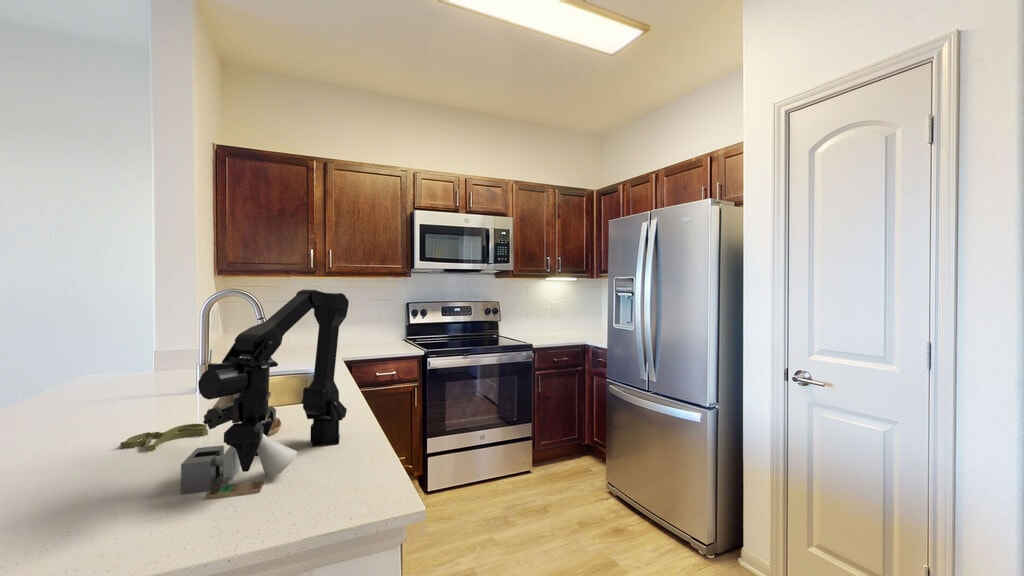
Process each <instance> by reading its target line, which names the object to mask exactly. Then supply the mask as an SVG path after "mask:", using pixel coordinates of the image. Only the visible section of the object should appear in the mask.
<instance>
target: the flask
mask: <svg viewBox="0 0 1024 576" xmlns="http://www.w3.org/2000/svg"><path fill="white" fill-rule="evenodd" d="M262 437H263V438H262V441H261V443H260V445H259V448H258V450H257V453H258V455H259V456H258V457H259V460H260V463H261V466H262V469H263V473H264V475H265V476H266V477H268V478H273V477H274V476H276V475H279V474H281V473H283V471H284V470H286V468H287V467H288V466H289V465H291V463H292V462H293V461H294V459H295V457H296V456H297V454H298V453H299V452H298V451H296V450H295V449H293V448H291V447H288V446H287V445H286V446H285V445H283V444H282V443H279V442H278V441H276V440H273V439H271V438H270V437H269V436H266V435H264V434H263V436H262Z"/></svg>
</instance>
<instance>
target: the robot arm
mask: <svg viewBox="0 0 1024 576" xmlns="http://www.w3.org/2000/svg"><path fill="white" fill-rule="evenodd" d="M349 303H350V302H349V299H348V298H347V296H346V295H345V294H344V293H342V292H341V293H340V292H323V291H319V290H317V289H301V290H299V291H297V292H296V294H295V296H294V297H292V298H291V299H290V300H289V301H288V302H287V303H285V304H284V305H283V306H282V307H280V308H279V309H278V310H277V311H276V312H275V313H274V314H273V315H271V316H269V318H268V319H267V320H265V321H263V322H261V323H258V324H255V325H253V326H250V327H249V328H247V329H245V330H244V331H241V332H240V333H238V335H237V336H236V337H235V339H234V343H233V344H232V346H231V348H230V349H229V351H228V352H227V353H226V355H225V356H224V358H223V359H222V361H221V363H217V362H216V363H215V362H214V363H213V362H212V363H208V364H207V370H205V371H204V372H203V373H201V376H200V377H199V378H200V379H199V380H198V385H197V386H198V391H199V394H200V395H201V396H202V398H204V399H205V400H215V399H218V398H223V397H228V396H234V395H237V396H236V397H234V399H233V402H231V403H228V404H225V405H222V406H220V407H219V406H218V405H217V406H215V407H213V408H209V409H207V410H206V411H207V412H206V413H205V414H204V415H203V419H204V420H203V421H202V424H205V425H207V427H208V430H212V429H216V428H217V427H218V426H220V425H223V424H225V423H229V422H231V424H232V425H231V426H229V428H228V429H226V430H225V432H223V443H224V444H225V445H227V446H228V447H230V446H232V447H233V448H235V449H236V451H237V454H238V458H239V461H240V465H241V467H240V469H241V471H242V472H243V473H247V472H249V471H250V469H251V467H252V464H253V462H254V459H255V457H259V455H258V453H257V450H258V448H259V445H260V443H261V441H262V438H263V437H262V436H263V434H264V435H266V436H267V437H269V436H268V434H269V432H270V429H271V427H272V425H273V423H274V419H275V418H277V409H276V408H275V407H274V406H272V405H269V399H270V397H271V393H272V392H271V391H270V368H274V367H278V366H279V363H278V362H277V361H276V360H274V359H273V358H272V357H273V356H274V354H275V353H276V352H277V350H278V349H279V348H280V346H281V345H282V341H283V338H284V335H285V334H286V333H287V332H289V331H290V330H291V328H293V327H294V326H295V325H296V324H297V323H298V322H299V321H300V320H301V319H302V318H303V317H304V316H306V315H307V313H309V312H310V311H311V310H313V315H314V319H315V320H316V322H317V324H318V332H317V343H316V352H315V359H314V361H315V362H314V371H313V380H312V381H311V383H310V385H309V386H308V387H307V386H305V387H303V390H302V400H301V404H302V408H303V410H304V412H305V416H306V419H308V420H312V423H311V425H310V436H309V437H310V438H309V439H310V442H311V446H312V447H320V446H328V445H337V444H340V438H341V435H340V421H343V419H344V418H346V416H347V411H348V409H347V408H346V406H345V405H344V404H343V403H342V402H341V401H340V392H339V387H338V386H337V384H336V383H335V372H336V371H335V370H336V363H337V353H338V352H337V351H338V350H337V349H338V341H339V334H340V333H339V332H340V326H341V325H342V323H343V322H344V321H345V319H346V318H347V314H348V309H349ZM267 418H271V420H267Z"/></svg>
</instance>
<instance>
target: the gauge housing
mask: <svg viewBox="0 0 1024 576" xmlns="http://www.w3.org/2000/svg"><path fill="white" fill-rule="evenodd" d="M224 454H225V445H215V446H205V447H196V448H195V450H194V451H193V452H192V453H190V454H189V455H188V457H187V458H185V460H184V461H182V463H181V465H180V495H189V494H195V493H202V492H208V493H207V495H206V500H213V499H219V498H220V499H221V498H227V497H235V496H242V495H251V494H256V493H257V494H258V493H259V494H260V493H261V491H262V489H263V488H264V485H265V479H261V480H260V479H259V480H252V481H251V480H250V481H246V482H245V481H244V482H238V483H236V482H235V483H234V482H233V483H227V484H226V485H225V487H224V488H220V486H221V485H216V479H220V478H221V477H222V476H223V466H215V456H224Z"/></svg>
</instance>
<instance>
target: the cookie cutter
mask: <svg viewBox="0 0 1024 576" xmlns="http://www.w3.org/2000/svg"><path fill="white" fill-rule="evenodd" d="M207 427H208V425H207V424H204V423H187V424H183V425H182V424H181V425H178V426H175V427H173V428H170V429H168V430H166V431H163V432H160V431H154V432H153V431H152V432H149V431H148V432H143V433H140V434H137V435H136V434H135V435H133V436H131V437H129V438H127V439H126V440H125V441H121V442H119V443H120V444H119V445H120V447H119V449H120V450H123V449H125V448H126V449H128V448H129V449H130V450H131V448H132V449H135V447H137V448H140V447H139V446H142V447H145V452H146V451H147V452H146V453H149V452H148V451H151V452H154V451H153V450H155V451H156V448H157V447H159V446H160V445H162V444H164V442H165V443H167V442H170V441H174V440H179V439H185V438H186V437H187V438H195V436H203V437H206V436H209V433H208V431H209V428H207ZM205 435H206V436H205ZM157 437H158V438H157ZM151 438H154V439H155V441H154V442H153V444H152V439H151ZM141 439H142V440H141ZM138 440H139V441H138ZM150 443H151V444H150ZM159 444H160V445H159ZM144 445H146V446H144ZM156 446H157V447H156ZM126 449H125V450H126Z"/></svg>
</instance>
